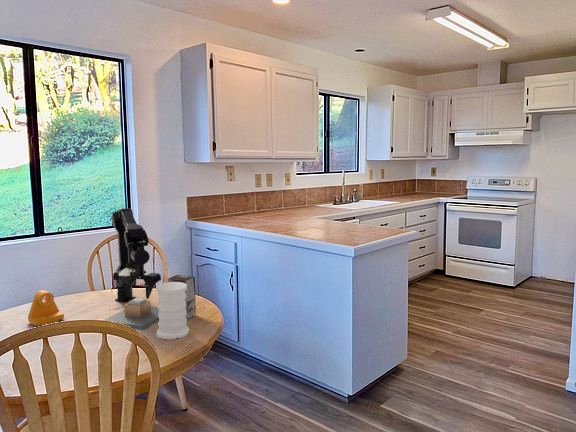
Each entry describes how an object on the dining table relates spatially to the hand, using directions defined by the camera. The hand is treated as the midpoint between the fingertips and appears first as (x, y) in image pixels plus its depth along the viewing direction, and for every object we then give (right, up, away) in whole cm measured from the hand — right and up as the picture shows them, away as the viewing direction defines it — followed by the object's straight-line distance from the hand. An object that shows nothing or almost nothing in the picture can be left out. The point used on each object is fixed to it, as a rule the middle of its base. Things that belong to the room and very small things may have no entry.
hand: (137, 297), depth 178 cm
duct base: (0, -8, +1) cm, 8 cm away
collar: (0, -7, +1) cm, 7 cm away
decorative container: (+18, -11, -15) cm, 26 cm away
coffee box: (+17, -8, +3) cm, 19 cm away
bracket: (-34, -9, -4) cm, 36 cm away
